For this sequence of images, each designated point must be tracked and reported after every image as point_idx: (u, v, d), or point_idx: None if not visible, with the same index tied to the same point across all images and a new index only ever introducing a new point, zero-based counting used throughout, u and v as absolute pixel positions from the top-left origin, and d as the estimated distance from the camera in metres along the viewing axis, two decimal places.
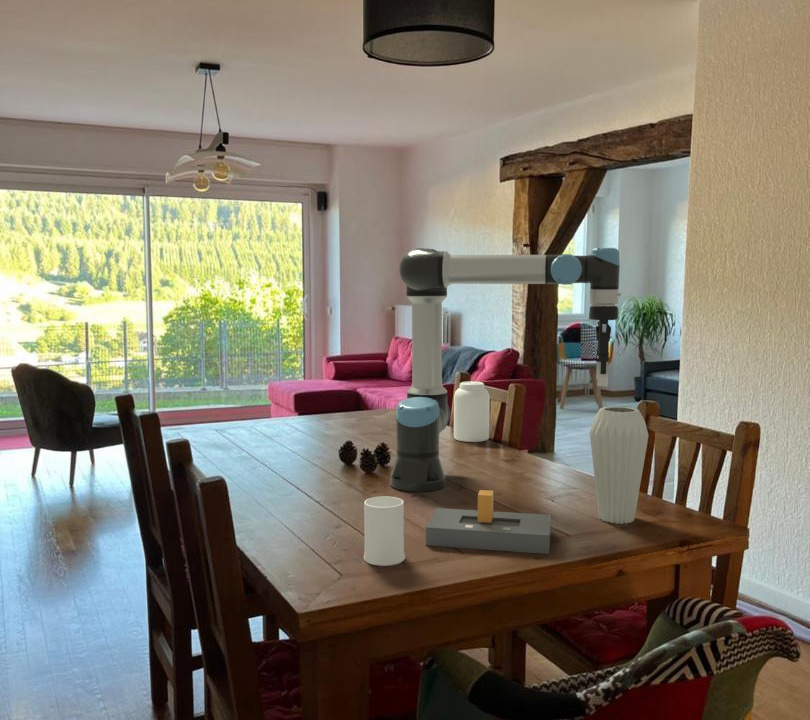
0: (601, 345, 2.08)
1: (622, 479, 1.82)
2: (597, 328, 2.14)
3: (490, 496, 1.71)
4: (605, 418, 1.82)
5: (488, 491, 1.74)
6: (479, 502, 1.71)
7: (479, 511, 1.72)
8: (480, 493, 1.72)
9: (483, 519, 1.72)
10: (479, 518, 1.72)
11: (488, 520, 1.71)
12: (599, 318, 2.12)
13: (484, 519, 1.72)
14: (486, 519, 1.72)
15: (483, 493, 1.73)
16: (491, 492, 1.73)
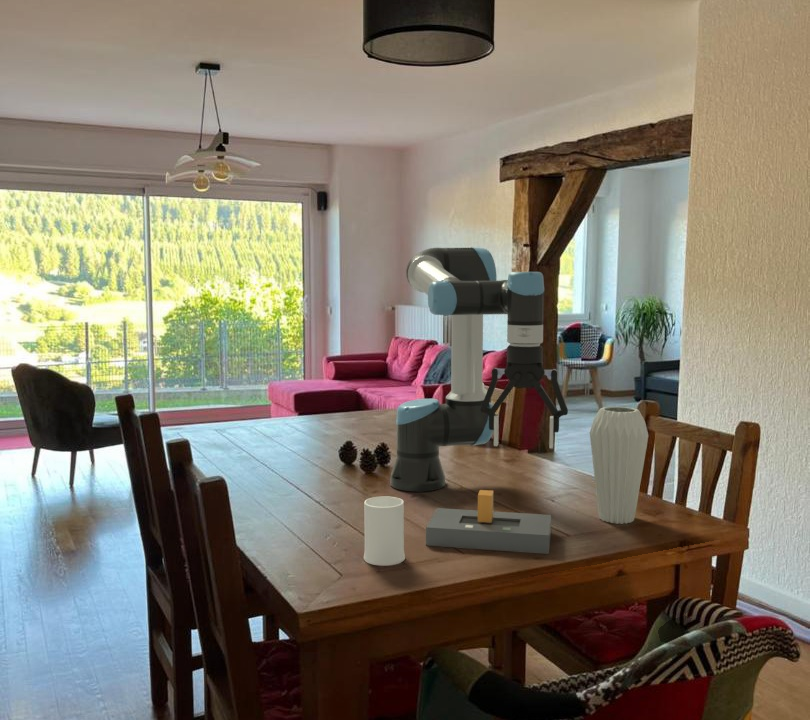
0: None
1: (622, 479, 1.82)
2: None
3: (490, 496, 1.71)
4: (605, 418, 1.82)
5: (488, 491, 1.74)
6: (479, 502, 1.71)
7: (479, 511, 1.72)
8: (480, 493, 1.72)
9: (483, 519, 1.72)
10: (479, 518, 1.72)
11: (488, 520, 1.71)
12: None
13: (484, 519, 1.72)
14: (486, 519, 1.72)
15: (483, 493, 1.73)
16: (491, 492, 1.73)
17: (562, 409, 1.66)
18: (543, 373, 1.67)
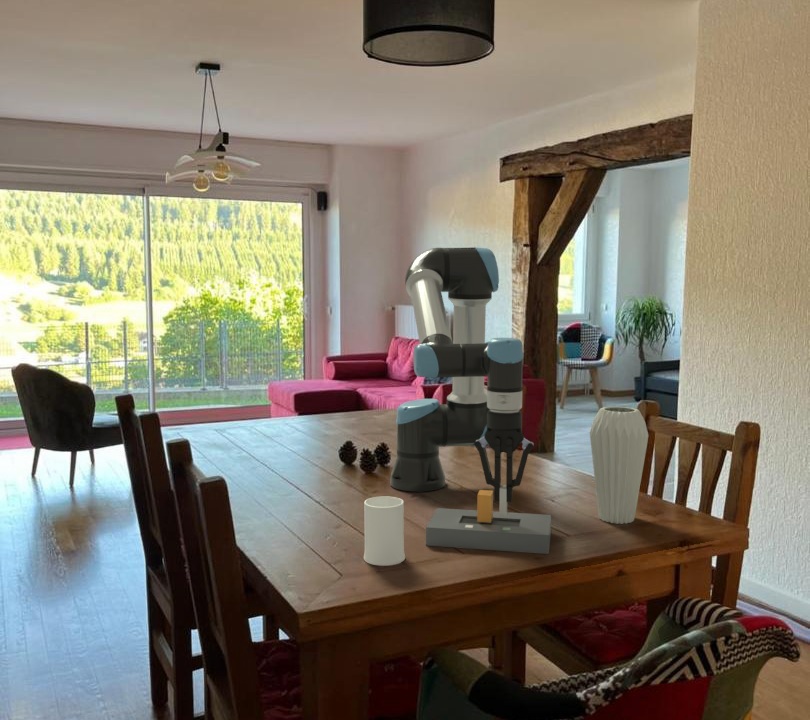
0: None
1: (622, 479, 1.82)
2: None
3: (490, 496, 1.71)
4: (605, 418, 1.82)
5: (488, 491, 1.74)
6: (479, 502, 1.71)
7: (479, 511, 1.72)
8: (480, 493, 1.72)
9: (483, 519, 1.72)
10: (479, 518, 1.72)
11: (488, 520, 1.71)
12: None
13: (484, 519, 1.72)
14: (486, 519, 1.72)
15: (482, 493, 1.73)
16: (491, 492, 1.73)
17: (517, 479, 1.70)
18: (522, 438, 1.69)
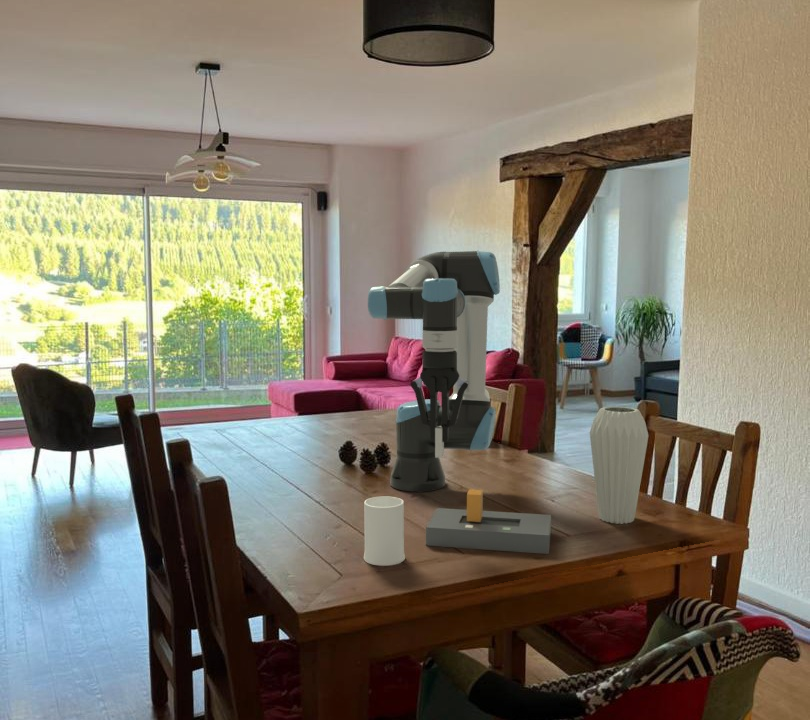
0: None
1: (622, 479, 1.82)
2: None
3: (479, 495, 1.71)
4: (605, 418, 1.82)
5: (477, 490, 1.74)
6: (468, 501, 1.72)
7: (468, 510, 1.72)
8: (469, 492, 1.73)
9: (472, 518, 1.72)
10: (468, 517, 1.72)
11: (477, 519, 1.72)
12: None
13: (473, 518, 1.72)
14: (476, 518, 1.72)
15: (472, 492, 1.73)
16: (480, 491, 1.74)
17: (452, 419, 1.71)
18: (457, 377, 1.71)
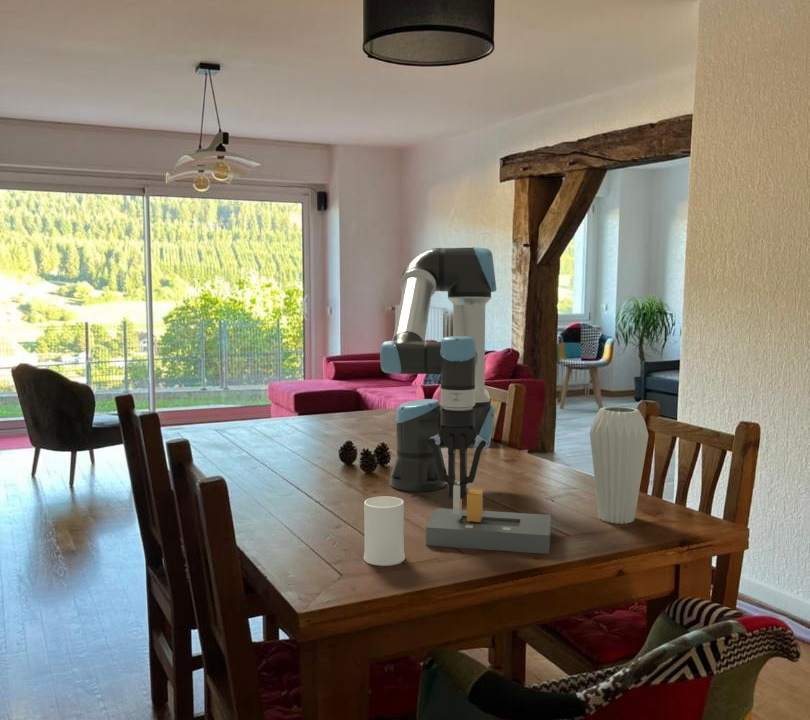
0: None
1: (622, 479, 1.82)
2: None
3: (479, 495, 1.71)
4: (605, 418, 1.82)
5: (477, 490, 1.74)
6: (468, 501, 1.72)
7: (468, 510, 1.72)
8: (469, 492, 1.73)
9: (472, 518, 1.72)
10: (468, 517, 1.72)
11: (477, 519, 1.72)
12: None
13: (473, 518, 1.72)
14: (476, 518, 1.72)
15: (472, 492, 1.73)
16: (480, 491, 1.74)
17: (470, 476, 1.72)
18: (475, 435, 1.71)
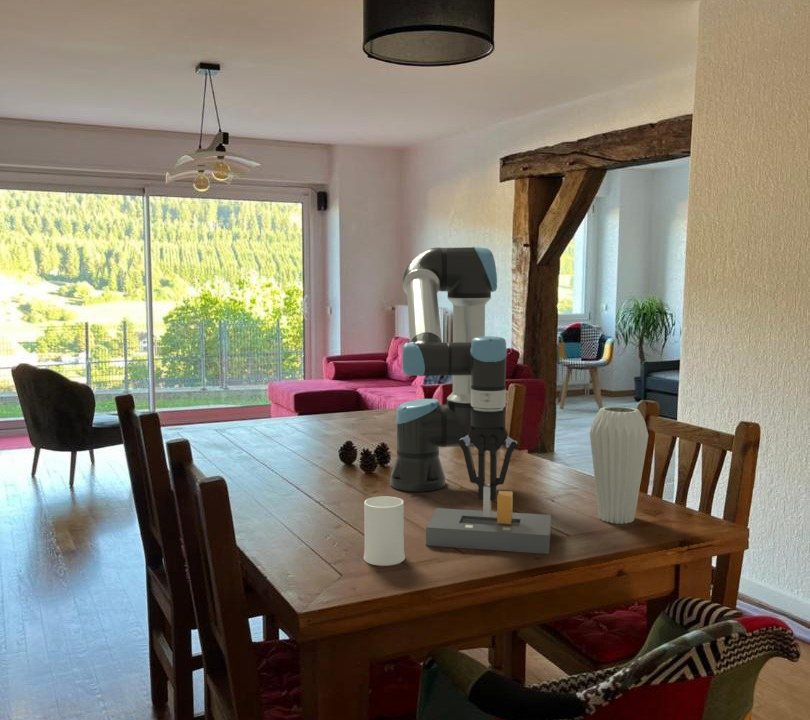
0: None
1: (622, 479, 1.82)
2: None
3: (510, 497, 1.70)
4: (605, 418, 1.82)
5: (507, 492, 1.73)
6: (499, 503, 1.71)
7: (499, 512, 1.71)
8: (499, 494, 1.72)
9: (503, 520, 1.71)
10: (499, 519, 1.71)
11: (508, 521, 1.71)
12: None
13: (504, 520, 1.71)
14: (506, 520, 1.71)
15: (502, 494, 1.72)
16: (510, 493, 1.72)
17: (500, 478, 1.71)
18: (506, 437, 1.70)
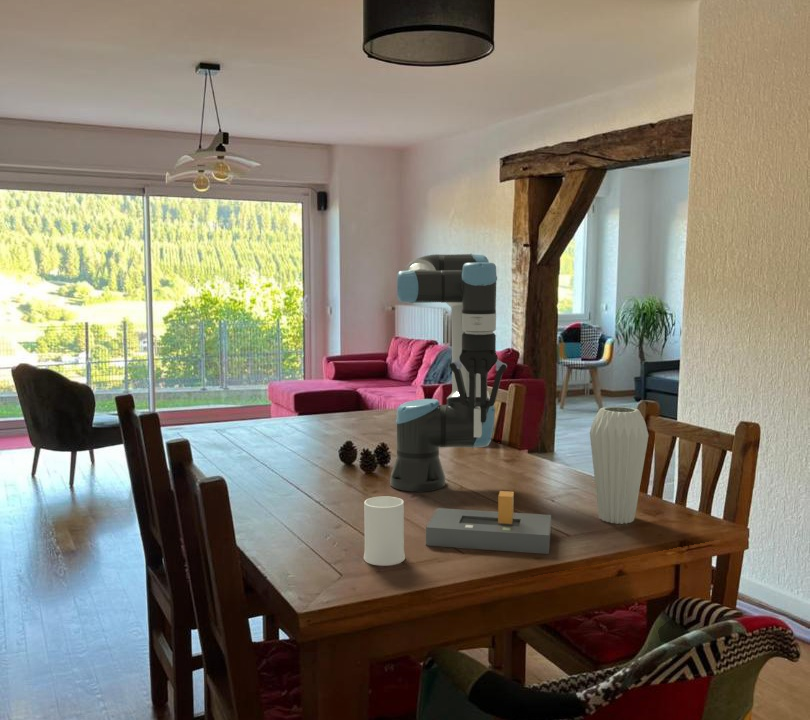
0: None
1: (622, 479, 1.82)
2: None
3: (511, 497, 1.70)
4: (605, 418, 1.82)
5: (508, 492, 1.73)
6: (500, 503, 1.70)
7: (500, 512, 1.71)
8: (500, 494, 1.71)
9: (504, 520, 1.71)
10: (500, 519, 1.71)
11: (509, 521, 1.71)
12: None
13: (505, 520, 1.71)
14: (507, 520, 1.71)
15: (503, 494, 1.72)
16: (511, 493, 1.72)
17: (490, 400, 1.76)
18: (496, 359, 1.75)
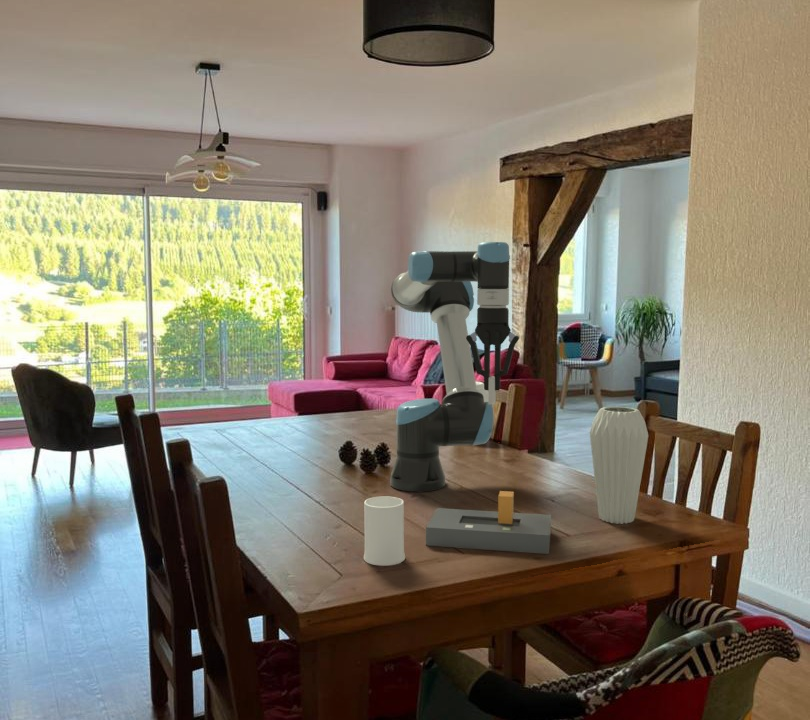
0: None
1: (622, 479, 1.82)
2: None
3: (511, 497, 1.70)
4: (605, 418, 1.82)
5: (508, 492, 1.73)
6: (500, 503, 1.70)
7: (500, 512, 1.71)
8: (500, 494, 1.71)
9: (504, 520, 1.71)
10: (500, 519, 1.71)
11: (509, 521, 1.71)
12: None
13: (505, 520, 1.71)
14: (507, 520, 1.71)
15: (503, 494, 1.72)
16: (511, 493, 1.72)
17: (504, 369, 1.90)
18: (509, 332, 1.89)
